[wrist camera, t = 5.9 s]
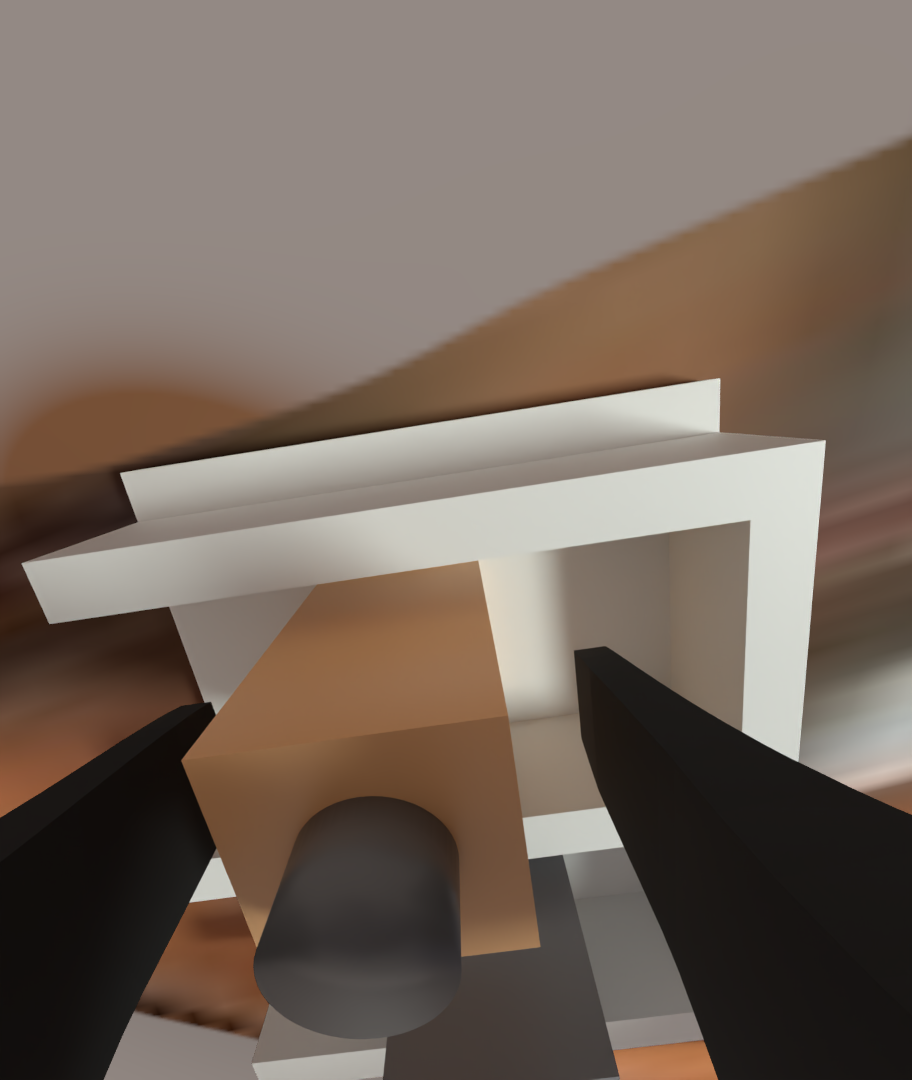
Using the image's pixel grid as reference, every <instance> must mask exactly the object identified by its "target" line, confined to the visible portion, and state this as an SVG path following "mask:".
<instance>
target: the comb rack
mask: <svg viewBox="0 0 912 1080" xmlns="http://www.w3.org/2000/svg"><path fill="white" fill-rule="evenodd" d="M719 419H720V378H718V379H710V380H702V381H695V382H689V383H683V384H676V385H670V386H664V387H657V388H651V389H645V390H638V391H632V392H626V393H619V394H613V395H607V396H600V397H594V398H588V399H582V400H575V401H569V402H563V403H556V404H550V405H544V406H537V407H531V408H525V409H518V410H512V411H506V412H499V413H493V414H487V415H480V416H474V417H468V418H461V419H455V420H449V421H442V422H436V423H430V424H423V425H417V426H411V427H405V428H398V429H392V430H386V431H379V432H373V433H367V434H360V435H354V436H348V437H341V438H335V439H329V440H322V441H316V442H310V443H303V444H297V445H291V446H284V447H278V448H272V449H265V450H259V451H253V452H246V453H240V454H234V455H228V456H221V457H215V458H209V459H202V460H196V461H190V462H183V463H177V464H171V465H164V466H158V467H152V468H145V469H140V470H134V471H129V472H123V473H120V475H121V478H122V480H123V483H124V486H125V488H126V491H127V494H128V497H129V499H130V502H131V505H132V507H133V510H134V513H135V516H136V518H137V521H138V522H137V523H134V524H132V525H129V526H126V527H123V528H120V529H117V530H115V531H112V532H109V533H106V534H103V535H100V536H98V537H95V538H92V539H89V540H86V541H83V542H81V543H78V544H75V545H72V546H69V547H66V548H64V549H61V550H58V551H55V552H52V553H49V554H47V555H44V556H41V557H38V558H35V559H32V560H29V561H27V562H24V563H21V564H22V566H23V568H24V570H25V572H26V574H27V577H28V579H29V581H30V583H31V585H32V588H33V590H34V592H35V594H36V596H37V598H38V601H39V603H40V605H41V607H42V609H43V611H44V614H45V616H46V618H47V620H48V622H49V624H54V623H61V622H68V621H74V620H81V619H88V618H95V617H101V616H108V615H115V614H122V613H128V612H135V611H142V610H148V609H155V608H162V607H169V608H170V610H171V613H172V616H173V618H174V621H175V624H176V627H177V629H178V632H179V635H180V637H181V640H182V643H183V646H184V648H185V651H186V654H187V656H188V659H189V662H190V665H191V667H192V670H193V673H194V675H195V678H196V681H197V683H198V686H199V689H200V692H201V694H202V697H203V700H204V702H205V703H206V702H211V703H212V705H213V708H214V711H215V714H216V715H217V713H218V712H219V711H220V709H221V708H222V707H223V706H224V704H225V703H226V702H227V700H228V699H229V698H230V696H231V695H232V694H233V693H234V691H235V690H236V689H237V687H238V686H239V685H240V684H241V682H242V681H243V680H244V678H245V677H246V676H247V674H248V673H249V672H250V671H251V669H252V668H253V667H254V665H255V664H256V663H257V661H258V660H259V659H260V658H261V656H262V655H263V654H264V652H265V651H266V650H267V649H268V647H269V646H270V645H271V643H272V642H273V641H274V639H275V638H276V637H277V636H278V634H279V633H280V632H281V630H282V629H283V628H284V626H285V625H286V624H287V623H288V621H289V620H290V619H291V617H292V616H293V615H294V613H295V612H296V611H297V610H298V608H299V607H300V606H301V604H302V603H303V602H304V601H305V599H306V598H307V597H308V595H309V594H310V593H311V591H312V590H313V589H314V588H315V586H316V585H317V584H324V583H330V582H337V581H344V580H351V579H357V578H364V577H371V576H377V575H384V574H391V573H398V572H404V571H411V570H418V569H425V568H431V567H438V566H445V565H452V564H458V563H465V562H472V561H478V562H479V567H480V572H481V577H482V583H483V588H484V593H485V598H486V603H487V608H488V614H489V619H490V624H491V629H492V634H493V639H494V645H495V650H496V655H497V660H498V665H499V671H500V676H501V681H502V686H503V691H504V696H505V702H506V707H507V712H508V718H509V725H510V732H511V739H512V746H513V754H514V761H515V768H516V775H517V782H518V789H519V796H520V804H521V811H522V818H523V825H524V832H525V839H526V847H527V854H528V859H533V858H541V857H549V856H557V855H563V858H564V862H565V866H566V870H567V873H568V877H569V881H570V885H571V889H572V893H573V897H574V901H575V905H576V909H577V913H578V917H579V920H580V924H581V928H582V932H583V936H584V940H585V944H586V948H587V952H588V956H589V960H590V963H591V967H592V971H593V975H594V979H595V983H596V987H597V991H598V995H599V999H600V1003H601V1007H602V1010H603V1014H604V1018H605V1022H606V1026H607V1030H608V1034H609V1038H610V1042H611V1046H612V1050H620V1049H628V1048H637V1047H646V1046H655V1045H663V1044H672V1043H681V1042H690V1041H698V1040H704V1039H703V1036H702V1034H701V1031H700V1028H699V1025H698V1023H697V1020H696V1017H695V1014H694V1012H693V1009H692V1006H691V1004H690V1001H689V998H688V995H687V993H686V990H685V987H684V985H683V982H682V979H681V976H680V974H679V971H678V968H677V966H676V963H675V961H674V959H673V956H672V954H671V951H670V949H669V947H668V944H667V942H666V939H665V937H664V935H663V932H662V930H661V927H660V925H659V923H658V921H657V919H656V916H655V914H654V912H653V910H652V908H651V905H650V903H649V901H648V899H647V897H646V894H645V892H644V890H643V888H642V886H641V883H640V881H639V879H638V877H637V875H636V872H635V870H634V868H633V866H632V864H631V862H630V859H629V857H628V855H627V853H626V851H625V848H624V846H623V844H622V842H621V840H620V837H619V835H618V833H617V831H616V828H615V826H614V824H613V822H612V820H611V817H610V815H609V813H608V811H607V808H606V806H605V804H604V802H603V799H602V797H601V795H600V793H599V790H598V787H597V784H596V782H595V779H594V776H593V773H592V770H591V767H590V764H589V760H588V757H587V754H586V751H585V748H584V745H583V742H582V739H581V729H580V717H579V706H578V694H577V682H576V671H575V659H574V650H580V649H587V648H595V647H602V646H606V647H608V648H609V649H611V650H613V651H614V652H616V653H617V654H619V655H620V656H622V657H623V658H625V659H626V660H628V661H629V662H631V663H632V664H633V665H635V666H636V667H638V668H639V669H641V670H642V671H644V672H645V673H647V674H648V675H650V676H651V677H653V678H654V679H656V680H657V681H659V682H660V683H662V684H663V685H665V686H667V687H668V688H670V689H671V690H673V691H674V692H676V693H677V694H679V695H681V696H682V697H684V698H685V699H687V700H689V701H690V702H692V703H693V704H695V705H697V706H698V707H700V708H702V709H703V710H705V711H707V712H708V713H710V714H712V715H713V716H715V717H717V718H718V719H720V720H722V721H723V722H725V723H727V724H729V725H730V726H732V727H734V728H736V729H738V730H739V731H741V732H743V733H745V734H746V735H748V736H750V737H752V738H753V739H755V740H757V741H759V742H761V743H762V744H764V745H766V746H768V747H770V748H772V749H774V750H776V751H778V752H779V753H781V754H783V755H785V756H787V757H789V758H791V759H793V760H795V761H797V762H798V759H799V748H800V736H801V724H802V712H803V701H804V689H805V677H806V666H807V654H808V642H809V630H810V619H811V607H812V595H813V584H814V572H815V560H816V548H817V537H818V525H819V513H820V501H821V490H822V478H823V466H824V455H825V443H826V440H815V439H801V438H788V437H775V436H761V435H748V434H734V433H721V432H719ZM228 897H236V895H235V892H234V890H233V887H232V885H231V882H230V880H229V877H228V875H227V873H226V870H225V868H224V865H223V863H222V860H221V858H220V855H219V853H218V850H217V848H216V850H215V852H214V855H213V857H212V859H211V860H210V862H209V864H208V866H207V868H206V870H205V872H204V874H203V876H202V878H201V880H200V882H199V884H198V886H197V888H196V890H195V892H194V894H193V896H192V898H191V900H190V902H197V901H205V900H213V899H221V898H228ZM386 1043H387V1037H384V1038H376V1039H347V1038H339V1037H333V1036H328V1035H324V1034H320V1033H317V1032H314V1031H311V1030H308V1029H306V1028H303V1027H301V1026H299V1025H297V1024H295V1023H293V1022H292V1021H290V1020H288V1019H287V1018H285V1017H284V1016H282V1015H281V1014H280V1013H279V1012H277V1011H276V1010H275V1009H274V1008H273V1007H272V1006H271V1005H270V1004H269V1007H268V1011H267V1014H266V1017H265V1021H264V1024H263V1027H262V1030H261V1034H260V1037H259V1040H258V1044H257V1047H256V1050H255V1053H254V1057H253V1060H252V1063H251V1064H252V1066H253V1068H254V1070H255V1072H256V1075H257V1077H258V1079H259V1080H358V1079H365V1078H366V1079H367V1078H374V1077H383V1073H384V1063H385V1053H386Z"/></svg>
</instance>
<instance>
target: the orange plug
mask: <svg viewBox="0 0 912 1080" xmlns="http://www.w3.org/2000/svg"><path fill="white" fill-rule="evenodd" d="M181 761H182V764H183V766H184V769H185V771H186V774H187V776H188V779H189V781H190V784H191V786H192V788H193V791H194V793H195V796H196V798H197V801H198V803H199V806H200V808H201V811H202V813H203V816H204V818H205V821H206V823H207V826H208V828H209V830H210V833H211V835H212V838H213V840H214V843H215V845H216V848H217V850H218V853H219V855H220V858H221V860H222V863H223V865H224V868H225V870H226V873H227V875H228V877H229V880H230V882H231V885H232V887H233V890H234V892H235V895H236V897H237V900H238V902H239V905H240V907H241V910H242V912H243V915H244V917H245V919H246V922H247V924H248V927H249V929H250V932H251V934H252V937H253V939H254V942H255V944H256V947H257V949H256V953H255V956H254V967H253V968H254V976H255V979H256V982H257V986H258V987H259V989H260V991H261V993H262V995H263V996H264V998H265V999H266V1000H267V1002H268V1003H269V1004H270V1005H271V1006H272V1007H273V1008H274V1009H275V1010H276V1011H277V1012H279V1013H280V1014H281V1015H282V1016H284V1017H285V1018H287V1019H288V1020H290V1021H292V1022H293V1023H295V1024H297V1025H299V1026H301V1027H303V1028H306V1029H308V1030H311V1031H314V1032H317V1033H320V1034H324V1035H328V1036H333V1037H339V1038H347V1039H376V1038H384V1037H390V1036H394V1035H398V1034H402V1033H405V1032H408V1031H411V1030H414V1029H416V1028H418V1027H420V1026H422V1025H424V1024H426V1023H428V1022H429V1021H431V1020H432V1019H434V1018H435V1017H436V1016H438V1015H439V1014H440V1013H441V1012H442V1011H443V1010H444V1009H445V1008H446V1007H447V1006H448V1005H449V1004H450V1002H451V1001H452V1000H453V998H454V997H455V995H456V992H457V990H458V988H459V985H460V981H461V971H462V967H461V957H464V956H472V955H480V954H488V953H496V952H505V951H513V950H521V949H529V948H537V947H540V939H539V932H538V925H537V918H536V911H535V904H534V897H533V889H532V882H531V875H530V868H529V861H528V854H527V847H526V839H525V832H524V825H523V818H522V811H521V804H520V796H519V789H518V782H517V775H516V768H515V761H514V754H513V746H512V739H511V732H510V725H509V718H508V712H507V707H506V702H505V696H504V691H503V686H502V681H501V676H500V671H499V665H498V660H497V655H496V650H495V645H494V639H493V634H492V629H491V624H490V619H489V614H488V608H487V603H486V598H485V593H484V588H483V583H482V577H481V572H480V567H479V562H478V561H472V562H465V563H458V564H452V565H445V566H438V567H431V568H425V569H418V570H411V571H404V572H398V573H391V574H384V575H377V576H371V577H364V578H357V579H351V580H344V581H337V582H330V583H324V584H317V585H316V586H315V588H314V589H313V590H312V591H311V593H310V594H309V595H308V597H307V598H306V599H305V601H304V602H303V603H302V604H301V606H300V607H299V608H298V610H297V611H296V612H295V613H294V615H293V616H292V617H291V619H290V620H289V621H288V623H287V624H286V625H285V626H284V628H283V629H282V630H281V632H280V633H279V634H278V636H277V637H276V638H275V639H274V641H273V642H272V643H271V645H270V646H269V647H268V649H267V650H266V651H265V652H264V654H263V655H262V656H261V658H260V659H259V660H258V661H257V663H256V664H255V665H254V667H253V668H252V669H251V671H250V672H249V673H248V674H247V676H246V677H245V678H244V680H243V681H242V682H241V684H240V685H239V686H238V687H237V689H236V690H235V691H234V693H233V694H232V695H231V696H230V698H229V699H228V700H227V702H226V703H225V704H224V706H223V707H222V708H221V709H220V711H219V712H218V713H217V715H216V716H215V717H214V719H213V720H212V721H211V722H210V724H209V725H208V726H207V728H206V729H205V730H204V732H203V733H202V734H201V735H200V737H199V738H198V739H197V741H196V742H195V743H194V744H193V746H192V747H191V748H190V750H189V751H188V752H187V754H186V755H185V756H184V757H183V759H182V760H181Z"/></svg>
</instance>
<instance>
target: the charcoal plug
mask: <svg viewBox="0 0 912 1080" xmlns="http://www.w3.org/2000/svg"><path fill="white" fill-rule="evenodd" d="M528 861H529V868H530V875H531V882H532V889H533V897H534V904H535V911H536V918H537V925H538V932H539V939H540V947H537V948H529V949H521V950H513V951H505V952H496V953H488V954H480V955H472V956H464V957H461V967H462V971H461V981H460V985H459V988H458V990H457V992H456V995H455V997H454V998H453V1000H452V1001H451V1002H450V1004H449V1005H448V1006H447V1007H446V1008H445V1009H444V1010H443V1011H442V1012H441V1013H440V1014H439V1015H438V1016H436V1017H435V1018H434V1019H432V1020H431V1021H429V1022H428V1023H426V1024H424V1025H422V1026H420V1027H418V1028H416V1029H414V1030H411V1031H408V1032H405V1033H402V1034H398V1035H394V1036H390V1037H387V1043H386V1053H385V1063H384V1073H383V1080H620V1078H619V1073H618V1069H617V1065H616V1061H615V1057H614V1053H613V1050H612V1046H611V1042H610V1038H609V1034H608V1030H607V1026H606V1022H605V1018H604V1014H603V1010H602V1007H601V1003H600V999H599V995H598V991H597V987H596V983H595V979H594V975H593V971H592V967H591V963H590V960H589V956H588V952H587V948H586V944H585V940H584V936H583V932H582V928H581V924H580V920H579V917H578V913H577V909H576V905H575V901H574V897H573V893H572V889H571V885H570V881H569V877H568V873H567V870H566V866H565V862H564V858H563V855H557V856H549V857H541V858H533V859H528Z"/></svg>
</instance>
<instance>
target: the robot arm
mask: <svg viewBox="0 0 912 1080" xmlns="http://www.w3.org/2000/svg"><path fill="white" fill-rule="evenodd" d="M574 659H575V671H576V682H577V694H578V706H579V717H580V729H581V739H582V742H583V745H584V748H585V751H586V754H587V757H588V760H589V764H590V767H591V770H592V773H593V776H594V779H595V782H596V784H597V787H598V790H599V793H600V795H601V797H602V799H603V802H604V804H605V806H606V808H607V811H608V813H609V815H610V817H611V820H612V822H613V824H614V826H615V828H616V831H617V833H618V835H619V837H620V840H621V842H622V844H623V846H624V848H625V851H626V853H627V855H628V857H629V859H630V862H631V864H632V866H633V868H634V870H635V872H636V875H637V877H638V879H639V881H640V883H641V886H642V888H643V890H644V892H645V894H646V897H647V899H648V901H649V903H650V905H651V908H652V910H653V912H654V914H655V916H656V919H657V921H658V923H659V925H660V927H661V930H662V932H663V935H664V937H665V939H666V942H667V944H668V947H669V949H670V951H671V954H672V956H673V959H674V961H675V963H676V966H677V968H678V971H679V974H680V976H681V979H682V982H683V985H684V987H685V990H686V993H687V995H688V998H689V1001H690V1004H691V1006H692V1009H693V1012H694V1014H695V1017H696V1020H697V1023H698V1025H699V1028H700V1031H701V1034H702V1036H703V1039H704V1042H705V1044H706V1047H707V1050H708V1053H709V1055H710V1058H711V1061H712V1063H713V1066H714V1069H715V1072H716V1075H717V1077H718V1080H912V815H911V814H908V813H906V812H904V811H901V810H899V809H896V808H894V807H892V806H890V805H888V804H885V803H883V802H881V801H879V800H876V799H874V798H872V797H870V796H868V795H865V794H863V793H861V792H859V791H857V790H854V789H852V788H850V787H848V786H846V785H844V784H842V783H840V782H838V781H836V780H834V779H832V778H830V777H828V776H826V775H824V774H822V773H819V772H817V771H815V770H813V769H811V768H809V767H807V766H805V765H803V764H801V763H799V762H797V761H795V760H793V759H791V758H789V757H787V756H785V755H783V754H781V753H779V752H778V751H776V750H774V749H772V748H770V747H768V746H766V745H764V744H762V743H761V742H759V741H757V740H755V739H753V738H752V737H750V736H748V735H746V734H745V733H743V732H741V731H739V730H738V729H736V728H734V727H732V726H730V725H729V724H727V723H725V722H723V721H722V720H720V719H718V718H717V717H715V716H713V715H712V714H710V713H708V712H707V711H705V710H703V709H702V708H700V707H698V706H697V705H695V704H693V703H692V702H690V701H689V700H687V699H685V698H684V697H682V696H681V695H679V694H677V693H676V692H674V691H673V690H671V689H670V688H668V687H667V686H665V685H663V684H662V683H660V682H659V681H657V680H656V679H654V678H653V677H651V676H650V675H648V674H647V673H645V672H644V671H642V670H641V669H639V668H638V667H636V666H635V665H633V664H632V663H631V662H629V661H628V660H626V659H625V658H623V657H622V656H620V655H619V654H617V653H616V652H614V651H613V650H611V649H609V648H608V647H606V646H602V647H595V648H587V649H580V650H574ZM215 716H216V714H215V711H214V708H213V705H212V703H211V702H206V703H199V704H192V705H185V706H180V707H179V708H177V709H175V710H173V711H171V712H169V713H167V714H165V715H163V716H162V717H160V718H158V719H157V720H155V721H153V722H151V723H150V724H148V725H146V726H145V727H143V728H142V729H140V730H138V731H137V732H135V733H134V734H132V735H130V736H129V737H127V738H126V739H124V740H122V741H121V742H119V743H118V744H116V745H115V746H113V747H112V748H110V749H108V750H107V751H105V752H104V753H102V754H101V755H99V756H97V757H96V758H94V759H93V760H91V761H90V762H88V763H87V764H85V765H84V766H82V767H80V768H79V769H77V770H76V771H74V772H73V773H71V774H70V775H68V776H66V777H65V778H63V779H62V780H60V781H59V782H57V783H56V784H54V785H52V786H51V787H49V788H48V789H46V790H45V791H43V792H41V793H40V794H38V795H37V796H35V797H33V798H32V799H30V800H28V801H27V802H25V803H24V804H22V805H20V806H19V807H17V808H15V809H14V810H12V811H11V812H9V813H7V814H6V815H4V816H3V817H1V818H0V1080H104V1077H105V1075H106V1072H107V1070H108V1068H109V1065H110V1063H111V1061H112V1058H113V1056H114V1054H115V1052H116V1049H117V1047H118V1044H119V1042H120V1040H121V1038H122V1035H123V1033H124V1031H125V1029H126V1027H127V1024H128V1023H129V1020H130V1018H131V1016H132V1014H133V1012H134V1010H135V1008H136V1006H137V1004H138V1002H139V1000H140V997H141V995H142V993H143V991H144V989H145V987H146V985H147V984H148V982H149V980H150V978H151V976H152V974H153V972H154V970H155V968H156V966H157V964H158V962H159V960H160V958H161V956H162V954H163V952H164V950H165V949H166V947H167V945H168V943H169V941H170V939H171V937H172V935H173V933H174V931H175V929H176V927H177V925H178V923H179V921H180V919H181V917H182V916H183V914H184V912H185V910H186V908H187V906H188V904H189V902H190V900H191V898H192V896H193V894H194V892H195V890H196V888H197V886H198V884H199V882H200V880H201V878H202V876H203V874H204V872H205V870H206V868H207V866H208V864H209V862H210V860H211V859H212V857H213V855H214V852H215V850H216V845H215V843H214V840H213V838H212V835H211V833H210V830H209V828H208V826H207V823H206V821H205V818H204V816H203V813H202V811H201V808H200V806H199V803H198V801H197V798H196V796H195V793H194V791H193V788H192V786H191V784H190V781H189V779H188V776H187V774H186V771H185V769H184V766H183V764H182V761H181V760H182V759H183V757H184V756H185V755H186V754H187V752H188V751H189V750H190V748H191V747H192V746H193V744H194V743H195V742H196V741H197V739H198V738H199V737H200V735H201V734H202V733H203V732H204V730H205V729H206V728H207V726H208V725H209V724H210V722H211V721H212V720H213V719H214V717H215Z"/></svg>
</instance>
